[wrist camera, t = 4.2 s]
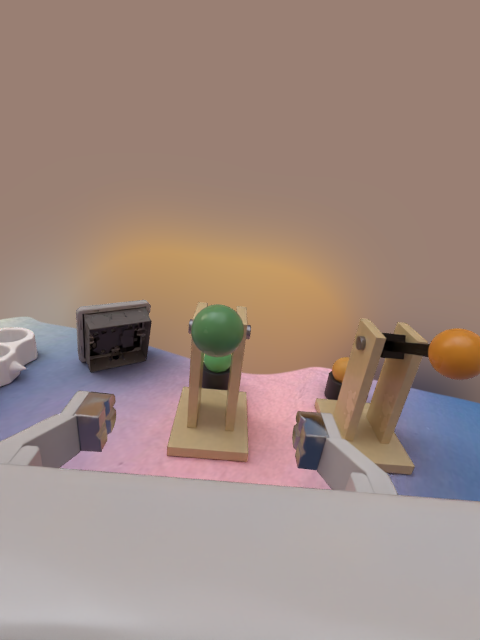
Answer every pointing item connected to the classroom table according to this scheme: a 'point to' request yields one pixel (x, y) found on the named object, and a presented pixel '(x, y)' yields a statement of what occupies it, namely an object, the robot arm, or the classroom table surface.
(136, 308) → the electrical switch
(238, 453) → the wooden lever stand
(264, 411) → the classroom table surface
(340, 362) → the amber lamp
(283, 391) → the classroom table surface
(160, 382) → the classroom table surface
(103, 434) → the robot arm
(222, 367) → the green lamp
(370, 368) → the tan wooden upright frame
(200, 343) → the green switch
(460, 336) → the amber switch
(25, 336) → the knuckle duster
